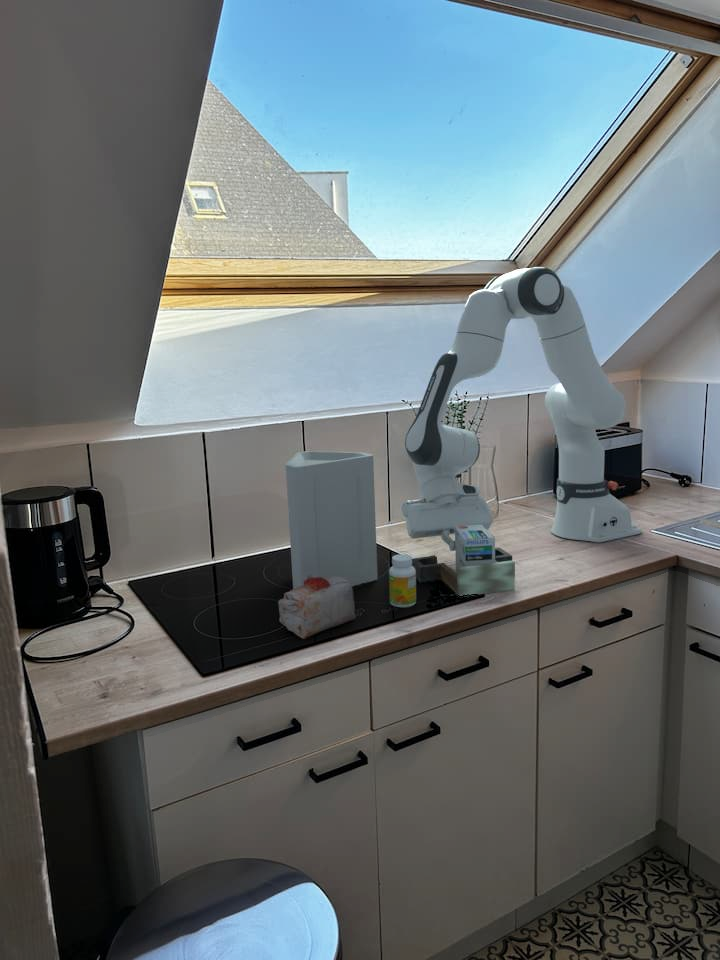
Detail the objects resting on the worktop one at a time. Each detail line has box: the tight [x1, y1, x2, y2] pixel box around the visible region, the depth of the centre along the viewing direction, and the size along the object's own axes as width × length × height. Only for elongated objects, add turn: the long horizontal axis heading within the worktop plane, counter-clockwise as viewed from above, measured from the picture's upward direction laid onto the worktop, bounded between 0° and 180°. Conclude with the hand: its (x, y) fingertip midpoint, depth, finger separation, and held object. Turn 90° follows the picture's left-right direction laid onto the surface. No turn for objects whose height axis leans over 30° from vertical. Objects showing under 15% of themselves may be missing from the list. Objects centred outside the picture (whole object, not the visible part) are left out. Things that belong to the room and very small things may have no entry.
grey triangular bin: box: [285, 450, 379, 589], centre depth 158 cm, size 19×15×28 cm
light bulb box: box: [454, 525, 496, 573], centre depth 158 cm, size 11×7×11 cm, turn 5°
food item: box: [277, 574, 357, 640], centre depth 136 cm, size 14×8×10 cm, turn 130°
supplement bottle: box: [388, 553, 417, 608], centre depth 145 cm, size 5×5×10 cm
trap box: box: [411, 547, 516, 597], centre depth 157 cm, size 22×17×6 cm
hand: (457, 549), depth 163 cm, fingers closed, pressing on light bulb box
